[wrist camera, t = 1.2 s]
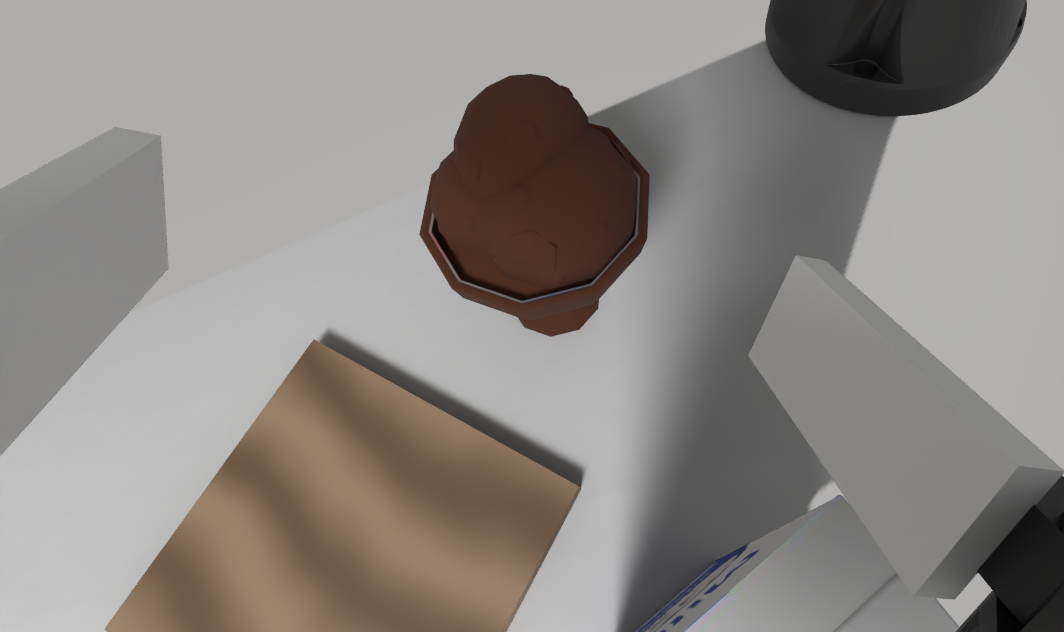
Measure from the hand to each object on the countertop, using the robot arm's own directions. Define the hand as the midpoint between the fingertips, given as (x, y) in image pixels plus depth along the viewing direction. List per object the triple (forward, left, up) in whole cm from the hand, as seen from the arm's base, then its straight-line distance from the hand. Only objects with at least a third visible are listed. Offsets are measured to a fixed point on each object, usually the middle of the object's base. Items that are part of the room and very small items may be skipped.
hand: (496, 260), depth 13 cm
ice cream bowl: (-2, -10, -23) cm, 25 cm away
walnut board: (+13, +1, -23) cm, 26 cm away
